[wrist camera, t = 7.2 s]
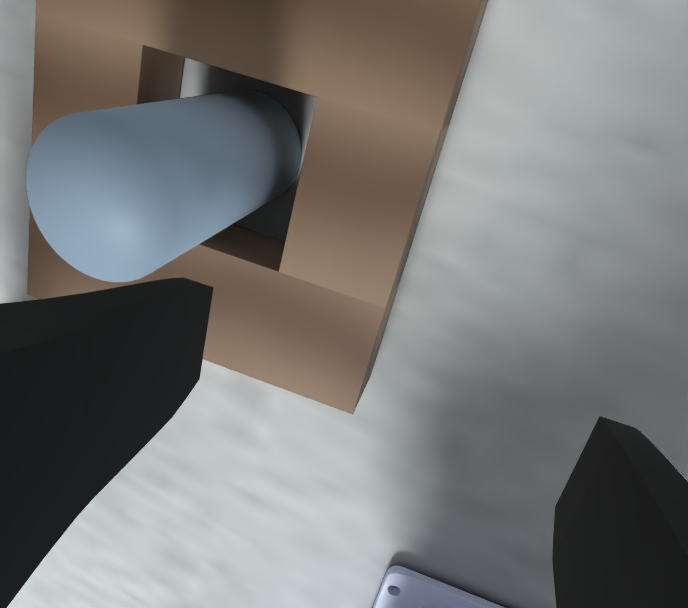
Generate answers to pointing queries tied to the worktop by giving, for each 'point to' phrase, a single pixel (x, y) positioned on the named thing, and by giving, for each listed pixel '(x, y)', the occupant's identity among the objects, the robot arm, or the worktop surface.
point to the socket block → (317, 169)
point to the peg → (156, 177)
